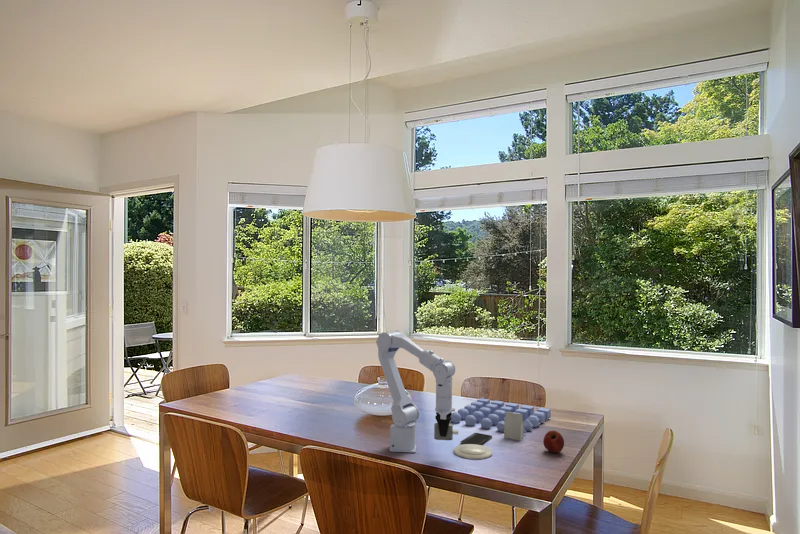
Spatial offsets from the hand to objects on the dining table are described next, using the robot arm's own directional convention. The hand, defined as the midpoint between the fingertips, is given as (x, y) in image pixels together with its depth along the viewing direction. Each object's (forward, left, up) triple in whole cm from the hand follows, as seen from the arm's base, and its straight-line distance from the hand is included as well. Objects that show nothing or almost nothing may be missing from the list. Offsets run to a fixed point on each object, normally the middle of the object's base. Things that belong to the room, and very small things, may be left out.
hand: (443, 434), depth 182 cm
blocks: (+25, +53, -9) cm, 59 cm away
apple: (+41, +13, -9) cm, 44 cm away
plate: (+11, +8, -8) cm, 16 cm away
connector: (0, 0, -1) cm, 1 cm away
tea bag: (+28, +28, -9) cm, 40 cm away
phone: (+13, +22, -9) cm, 27 cm away
